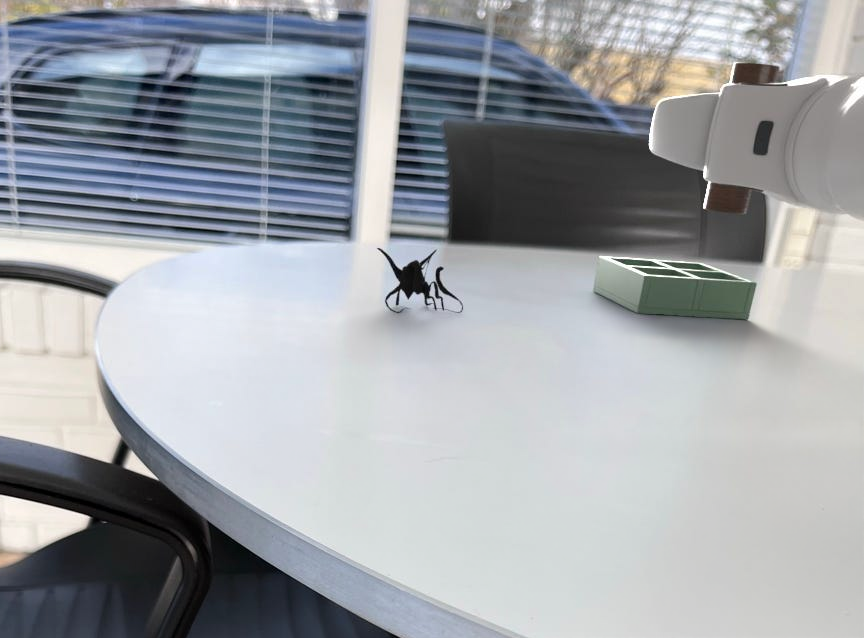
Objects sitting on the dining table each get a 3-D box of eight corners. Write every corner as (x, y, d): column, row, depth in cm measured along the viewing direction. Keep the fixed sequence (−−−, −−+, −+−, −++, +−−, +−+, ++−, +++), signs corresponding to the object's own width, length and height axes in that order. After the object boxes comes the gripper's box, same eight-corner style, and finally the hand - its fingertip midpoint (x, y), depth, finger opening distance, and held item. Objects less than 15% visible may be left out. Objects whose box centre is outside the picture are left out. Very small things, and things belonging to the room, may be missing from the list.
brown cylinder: (733, 209, 92) (765, 66, 87) (753, 215, 89) (788, 66, 84) (695, 206, 91) (726, 62, 86) (714, 212, 88) (747, 62, 83)
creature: (473, 329, 95) (435, 292, 101) (488, 270, 92) (447, 235, 97) (396, 329, 92) (360, 291, 97) (408, 269, 89) (370, 233, 94)
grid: (695, 297, 117) (702, 263, 115) (748, 319, 107) (757, 282, 105) (592, 290, 114) (598, 255, 113) (637, 313, 104) (644, 275, 102)
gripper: (967, 107, 77) (857, 101, 89) (710, 81, 73) (631, 78, 84) (939, 200, 80) (836, 182, 92) (690, 181, 75) (616, 164, 87)
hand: (736, 132), depth 88 cm, fingers closed on brown cylinder, 3 cm apart
